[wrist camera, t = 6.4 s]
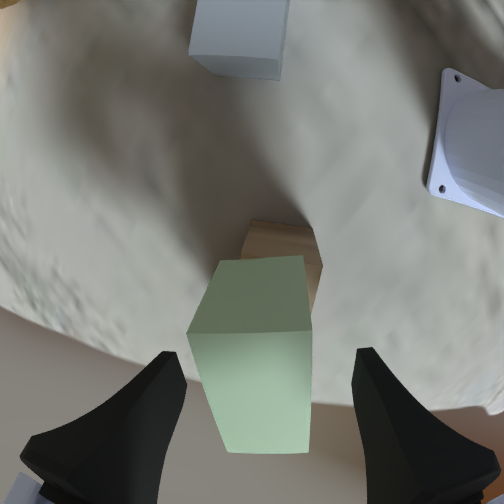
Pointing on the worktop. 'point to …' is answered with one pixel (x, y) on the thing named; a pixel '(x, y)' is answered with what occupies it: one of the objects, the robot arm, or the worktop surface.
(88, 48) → the worktop surface
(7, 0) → the potato
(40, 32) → the worktop surface
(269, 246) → the walnut brick
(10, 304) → the worktop surface
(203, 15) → the slate brick
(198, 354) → the green brick
